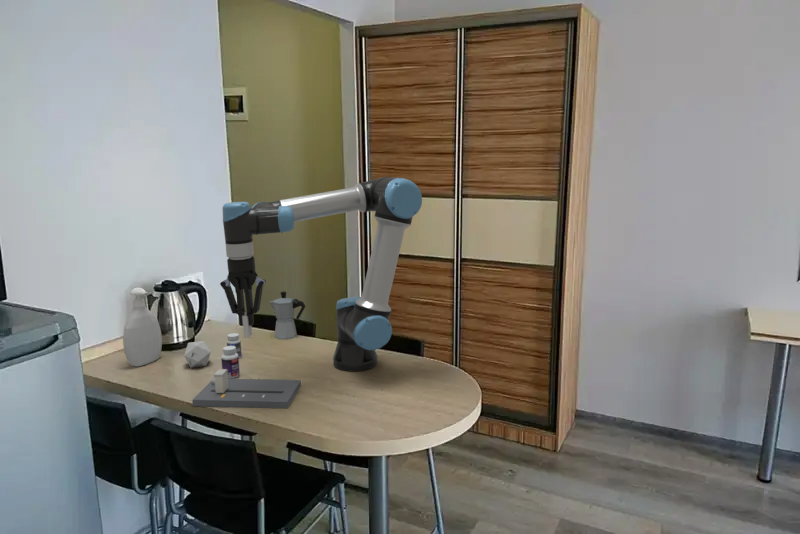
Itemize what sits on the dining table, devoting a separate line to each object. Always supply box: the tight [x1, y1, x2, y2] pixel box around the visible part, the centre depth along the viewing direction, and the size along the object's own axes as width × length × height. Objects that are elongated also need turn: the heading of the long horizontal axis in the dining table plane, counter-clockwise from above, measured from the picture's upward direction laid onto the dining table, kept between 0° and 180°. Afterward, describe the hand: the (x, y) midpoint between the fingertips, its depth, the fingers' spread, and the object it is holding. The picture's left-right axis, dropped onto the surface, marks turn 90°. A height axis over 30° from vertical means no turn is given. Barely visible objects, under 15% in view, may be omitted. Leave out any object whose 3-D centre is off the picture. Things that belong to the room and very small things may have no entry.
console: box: [191, 376, 302, 409], centre depth 179 cm, size 28×16×4 cm, turn 85°
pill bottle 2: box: [220, 345, 240, 379], centre depth 193 cm, size 5×5×10 cm
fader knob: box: [213, 368, 229, 393], centre depth 177 cm, size 3×4×6 cm, turn 175°
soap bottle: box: [122, 287, 163, 368], centre depth 204 cm, size 14×8×27 cm, turn 151°
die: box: [183, 340, 211, 369], centre depth 204 cm, size 8×9×10 cm
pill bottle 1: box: [226, 332, 242, 359], centre depth 211 cm, size 5×5×8 cm
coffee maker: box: [268, 290, 306, 340], centre depth 232 cm, size 15×9×18 cm, turn 80°
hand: (248, 335), depth 174 cm, fingers closed
